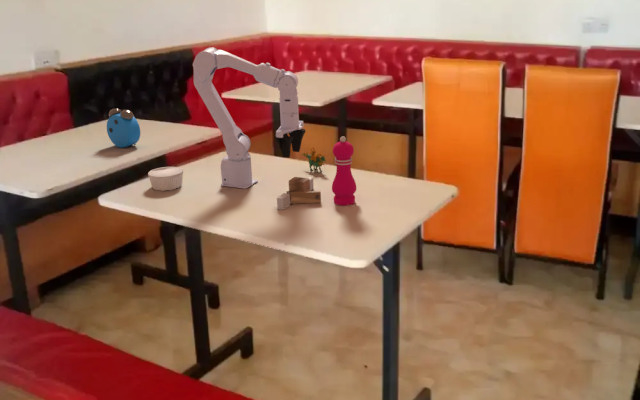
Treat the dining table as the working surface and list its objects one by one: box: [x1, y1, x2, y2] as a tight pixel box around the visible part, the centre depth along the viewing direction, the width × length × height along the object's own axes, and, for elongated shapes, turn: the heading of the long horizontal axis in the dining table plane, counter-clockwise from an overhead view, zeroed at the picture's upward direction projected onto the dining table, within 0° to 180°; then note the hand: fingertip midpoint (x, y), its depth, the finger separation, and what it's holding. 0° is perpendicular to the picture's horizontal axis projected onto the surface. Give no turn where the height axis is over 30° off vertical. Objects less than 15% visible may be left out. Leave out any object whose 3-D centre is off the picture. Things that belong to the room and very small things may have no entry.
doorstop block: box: [288, 176, 310, 201], centre depth 203 cm, size 5×4×6 cm
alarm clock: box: [106, 108, 141, 149], centre depth 265 cm, size 13×6×15 cm, turn 57°
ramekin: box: [147, 166, 184, 192], centre depth 218 cm, size 11×11×5 cm
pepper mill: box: [331, 136, 357, 206], centre depth 196 cm, size 7×7×20 cm
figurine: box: [301, 146, 327, 173], centre depth 228 cm, size 3×12×8 cm, turn 42°
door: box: [290, 190, 322, 205], centre depth 199 cm, size 2×9×3 cm, turn 93°
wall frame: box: [276, 176, 314, 211], centre depth 203 cm, size 2×20×4 cm, turn 155°
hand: (291, 154), depth 214 cm, fingers open, 6 cm apart
